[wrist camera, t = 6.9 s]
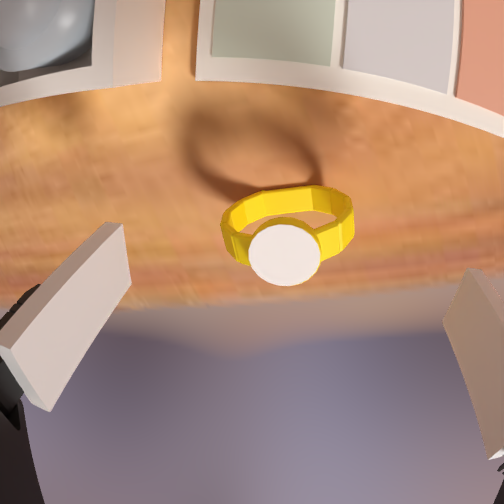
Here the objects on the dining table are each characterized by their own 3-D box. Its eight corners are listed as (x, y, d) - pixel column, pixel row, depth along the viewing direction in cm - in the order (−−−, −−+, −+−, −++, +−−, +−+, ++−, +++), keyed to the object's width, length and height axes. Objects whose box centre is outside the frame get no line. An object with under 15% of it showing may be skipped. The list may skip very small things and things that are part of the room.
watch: (242, 226, 19) (213, 290, 14) (232, 180, 17) (196, 231, 12) (349, 217, 17) (360, 284, 12) (345, 168, 16) (359, 219, 11)
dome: (17, 76, 12) (-49, 92, 8) (25, -30, 9) (-37, -36, 4) (116, 55, 12) (48, 57, 8) (129, -67, 8) (72, -100, 4)
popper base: (24, 98, 15) (-32, 115, 11) (34, -37, 10) (-19, -45, 6) (161, 81, 14) (112, 87, 10) (175, -80, 9) (138, -117, 5)
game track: (198, 80, 14) (194, 80, 14) (213, -84, 9) (209, -90, 8) (525, 146, 13) (532, 150, 12) (537, 2, 8) (544, 1, 7)
